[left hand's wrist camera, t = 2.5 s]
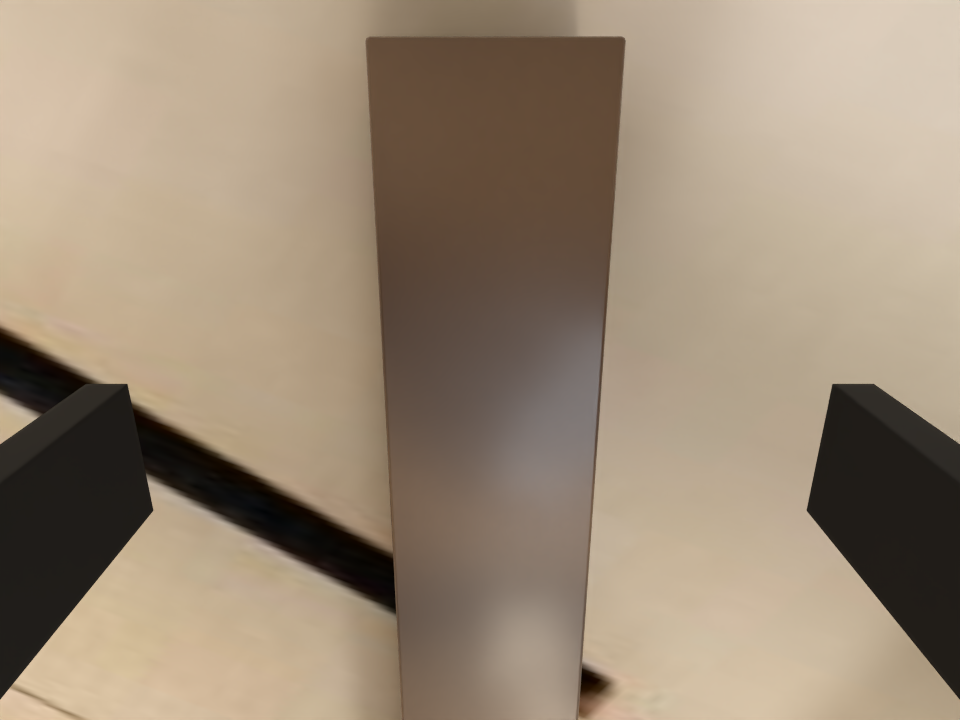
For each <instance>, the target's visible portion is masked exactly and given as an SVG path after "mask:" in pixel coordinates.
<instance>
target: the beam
mask: <svg viewBox="0 0 960 720" xmlns="http://www.w3.org/2000/svg"><path fill="white" fill-rule="evenodd" d="M366 56H367V75H368V93H369V112H370V131H371V149H372V168H373V186H374V205H375V223H376V242H377V261H378V279H379V298H380V316H381V335H382V353H383V372H384V391H385V409H386V428H387V446H388V465H389V483H390V502H391V521H392V539H393V558H394V576H395V595H396V613H397V632H398V651H399V669H400V688H401V706H402V720H578V713H579V699H580V684H581V670H582V656H583V641H584V627H585V613H586V599H587V584H588V570H589V556H590V541H591V527H592V513H593V499H594V484H595V470H596V456H597V441H598V427H599V413H600V399H601V384H602V370H603V356H604V341H605V327H606V313H607V299H608V284H609V270H610V256H611V241H612V227H613V213H614V199H615V184H616V170H617V156H618V141H619V127H620V113H621V99H622V84H623V70H624V56H625V38H624V37H368V38H367V39H366Z"/></svg>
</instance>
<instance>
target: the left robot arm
mask: <svg viewBox="0 0 960 720" xmlns="http://www.w3.org/2000/svg"><path fill="white" fill-rule="evenodd" d="M152 512H153V507H152V502H151V497H150V492H149V487H148V482H147V477H146V472H145V468H144V463H143V458H142V453H141V448H140V443H139V438H138V433H137V428H136V424H135V419H134V414H133V409H132V404H131V399H130V394H129V389H128V385H127V384H86V385H84V386H83V387H81V388H80V389H78V390H77V391H76V392H74V393H73V394H71V395H70V396H68V397H67V398H66V399H64V400H63V401H61V402H60V403H59V404H57V405H56V406H54V407H53V408H51V409H50V410H49V411H47V412H46V413H44V414H43V415H41V416H40V417H39V418H37V419H36V420H34V421H33V422H31V423H30V424H29V425H27V426H26V427H24V428H23V429H21V430H20V431H19V432H17V433H16V434H14V435H13V436H12V437H10V438H9V439H7V440H6V441H4V442H3V443H2V444H0V699H1V698H2V697H3V695H4V694H5V693H6V692H7V690H8V689H9V688H10V687H11V685H12V684H13V683H14V682H15V681H16V679H17V678H18V677H19V676H20V674H21V673H22V672H23V671H24V669H25V668H26V667H27V666H28V665H29V663H30V662H31V661H32V660H33V658H34V657H35V656H36V655H37V653H38V652H39V651H40V650H41V648H42V647H43V646H44V645H45V644H46V642H47V641H48V640H49V639H50V637H51V636H52V635H53V634H54V632H55V631H56V630H57V629H58V627H59V626H60V625H61V624H62V623H63V621H64V620H65V619H66V618H67V616H68V615H69V614H70V613H71V611H72V610H73V609H74V608H75V607H76V605H77V604H78V603H79V602H80V600H81V599H82V598H83V597H84V595H85V594H86V593H87V592H88V590H89V589H90V588H91V587H92V586H93V584H94V583H95V582H96V581H97V579H98V578H99V577H100V576H101V574H102V573H103V572H104V571H105V570H106V568H107V567H108V566H109V565H110V563H111V562H112V561H113V560H114V558H115V557H116V556H117V555H118V553H119V552H120V551H121V550H122V549H123V547H124V546H125V545H126V544H127V542H128V541H129V540H130V539H131V537H132V536H133V535H134V534H135V533H136V531H137V530H138V529H139V528H140V526H141V525H142V524H143V523H144V521H145V520H146V519H147V518H148V516H149V515H150V514H151V513H152ZM807 512H808V513H809V514H810V515H811V516H812V518H813V519H814V520H815V521H816V523H817V524H818V525H819V526H820V528H821V529H822V530H823V531H824V533H825V534H826V535H827V536H828V537H829V539H830V540H831V541H832V542H833V544H834V545H835V546H836V547H837V549H838V550H839V551H840V552H841V553H842V555H843V556H844V557H845V558H846V560H847V561H848V562H849V563H850V565H851V566H852V567H853V568H854V570H855V571H856V572H857V573H858V574H859V576H860V577H861V578H862V579H863V581H864V582H865V583H866V584H867V586H868V587H869V588H870V589H871V590H872V592H873V593H874V594H875V595H876V597H877V598H878V599H879V600H880V602H881V603H882V604H883V605H884V607H885V608H886V609H887V610H888V611H889V613H890V614H891V615H892V616H893V618H894V619H895V620H896V621H897V623H898V624H899V625H900V626H901V627H902V629H903V630H904V631H905V632H906V634H907V635H908V636H909V637H910V639H911V640H912V641H913V642H914V644H915V645H916V646H917V647H918V648H919V650H920V651H921V652H922V653H923V655H924V656H925V657H926V658H927V660H928V661H929V662H930V663H931V665H932V666H933V667H934V668H935V669H936V671H937V672H938V673H939V674H940V676H941V677H942V678H943V679H944V681H945V682H946V683H947V684H948V685H949V687H950V688H951V689H952V690H953V692H954V693H955V694H956V695H957V697H958V698H959V699H960V444H958V443H957V442H956V441H954V440H953V439H951V438H950V437H948V436H947V435H946V434H944V433H943V432H941V431H940V430H939V429H937V428H936V427H934V426H933V425H931V424H930V423H929V422H927V421H926V420H924V419H923V418H921V417H920V416H919V415H917V414H916V413H914V412H913V411H911V410H910V409H909V408H907V407H906V406H904V405H903V404H901V403H900V402H899V401H897V400H896V399H894V398H893V397H891V396H890V395H889V394H887V393H886V392H884V391H883V390H882V389H880V388H879V387H877V386H876V385H874V384H833V385H832V389H831V394H830V399H829V404H828V409H827V414H826V419H825V424H824V428H823V433H822V438H821V443H820V448H819V453H818V458H817V463H816V468H815V472H814V477H813V482H812V487H811V492H810V497H809V502H808V507H807Z"/></svg>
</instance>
